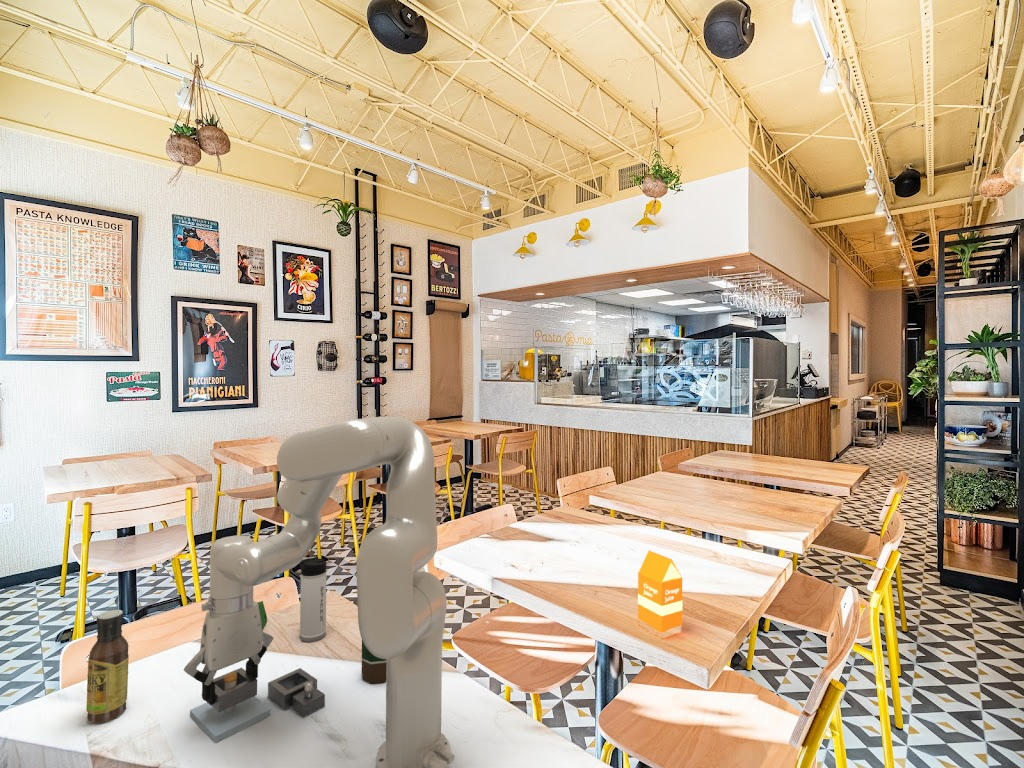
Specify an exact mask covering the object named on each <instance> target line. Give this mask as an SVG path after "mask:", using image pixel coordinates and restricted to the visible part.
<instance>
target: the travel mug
mask: <svg viewBox="0 0 1024 768" xmlns="http://www.w3.org/2000/svg"><path fill="white" fill-rule="evenodd" d="M299 566H300V604H299V605H300V611H299V612H300V614H299V616H300V618H299V623H300V624H299V631H300V632H299V638H300V640H301V641H303V642H304V643H313V642H316V641H320V640H322V639H323V638H325V636H326V635H327V561H326V560H325V559H323V558H318V557H311V558H303V560H302V561H301V562H300V563H299Z"/></svg>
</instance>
